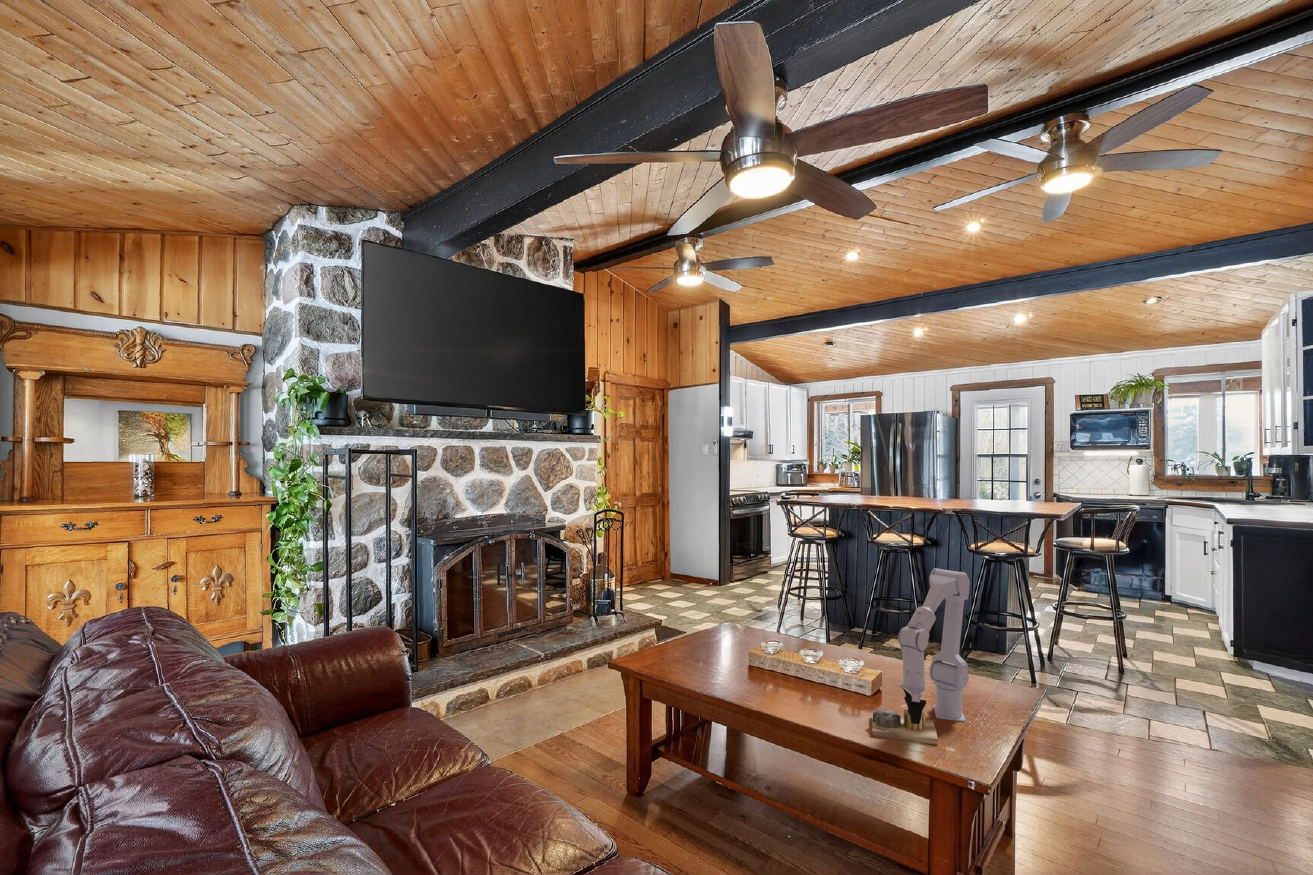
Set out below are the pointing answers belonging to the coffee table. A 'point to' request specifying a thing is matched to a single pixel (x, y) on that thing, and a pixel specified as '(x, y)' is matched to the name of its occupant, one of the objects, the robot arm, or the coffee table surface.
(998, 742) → the coffee table surface
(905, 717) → the brass gear
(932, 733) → the gear board
